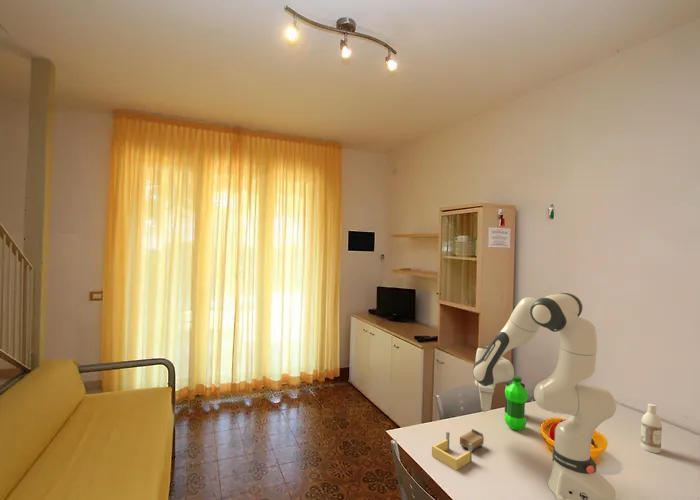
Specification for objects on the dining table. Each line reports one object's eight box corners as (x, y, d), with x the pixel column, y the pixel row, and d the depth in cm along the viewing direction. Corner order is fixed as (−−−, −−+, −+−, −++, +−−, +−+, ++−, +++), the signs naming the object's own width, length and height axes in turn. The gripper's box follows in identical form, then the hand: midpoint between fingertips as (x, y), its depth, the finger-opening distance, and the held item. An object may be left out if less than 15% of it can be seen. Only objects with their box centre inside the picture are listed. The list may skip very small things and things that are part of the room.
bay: (471, 460, 145) (472, 443, 145) (456, 470, 139) (456, 452, 139) (447, 447, 155) (447, 431, 155) (431, 455, 148) (432, 439, 148)
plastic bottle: (530, 433, 169) (532, 381, 169) (508, 432, 169) (510, 380, 169) (521, 422, 179) (522, 373, 179) (500, 422, 179) (501, 373, 179)
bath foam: (650, 453, 155) (651, 408, 154) (636, 444, 161) (637, 401, 161) (665, 453, 155) (666, 408, 155) (651, 444, 162) (652, 401, 162)
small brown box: (483, 446, 156) (483, 434, 156) (471, 453, 151) (472, 440, 151) (471, 440, 161) (471, 428, 161) (459, 446, 156) (460, 434, 156)
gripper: (476, 371, 173) (475, 399, 173) (478, 388, 153) (477, 419, 154) (490, 373, 171) (489, 401, 171) (494, 390, 151) (493, 422, 152)
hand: (484, 410), depth 162 cm, fingers closed
